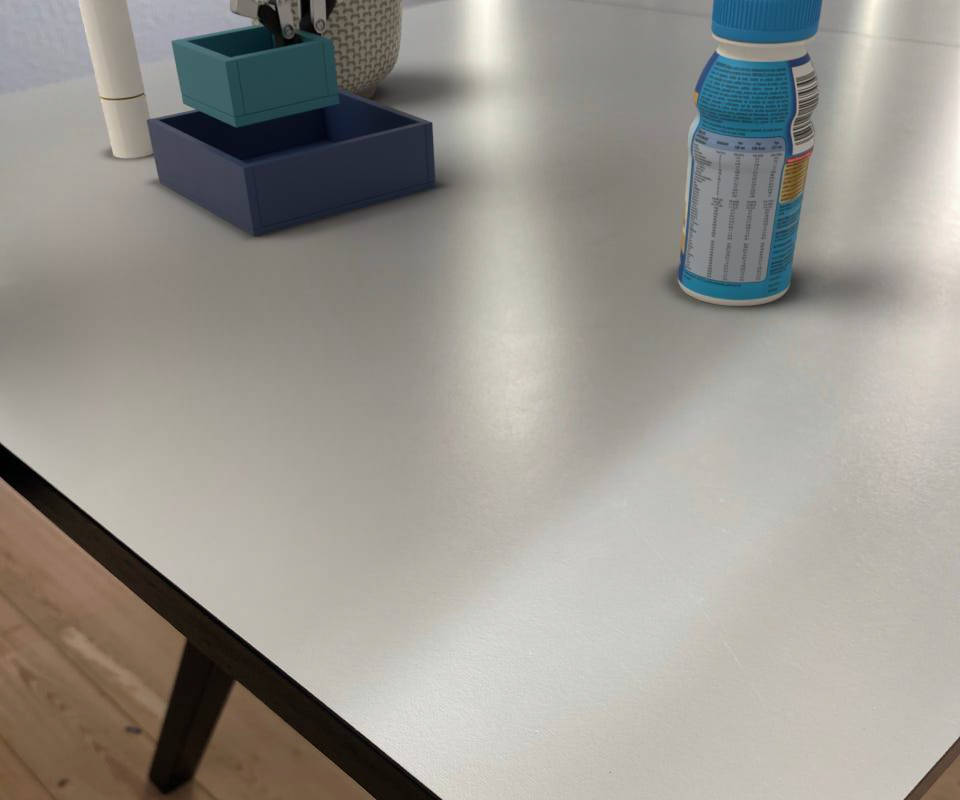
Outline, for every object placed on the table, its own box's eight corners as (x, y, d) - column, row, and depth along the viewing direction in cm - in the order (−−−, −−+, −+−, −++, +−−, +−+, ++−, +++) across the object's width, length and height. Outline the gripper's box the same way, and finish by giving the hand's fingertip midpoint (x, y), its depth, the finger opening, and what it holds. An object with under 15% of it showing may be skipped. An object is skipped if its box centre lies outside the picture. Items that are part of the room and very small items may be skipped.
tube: (148, 161, 111) (112, -12, 101) (107, 160, 111) (67, -12, 101) (163, 147, 114) (129, -21, 104) (123, 147, 114) (85, -21, 105)
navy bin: (254, 240, 93) (243, 168, 89) (159, 185, 105) (146, 119, 101) (436, 190, 102) (432, 122, 98) (329, 144, 113) (322, 82, 109)
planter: (298, 129, 118) (276, -48, 107) (234, 94, 129) (209, -68, 119) (439, 101, 124) (431, -68, 114) (367, 70, 136) (353, -86, 125)
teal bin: (236, 128, 92) (225, 61, 89) (182, 103, 98) (170, 40, 95) (339, 104, 96) (332, 39, 93) (282, 82, 103) (274, 21, 99)
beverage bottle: (696, 316, 79) (729, -4, 66) (660, 271, 86) (684, -29, 73) (809, 304, 80) (863, -14, 67) (765, 261, 87) (807, -37, 74)
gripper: (331, -183, 93) (354, 61, 104) (160, -167, 86) (205, 92, 98) (381, -179, 88) (399, 75, 100) (204, -162, 81) (246, 110, 93)
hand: (303, 82), depth 99 cm, fingers closed on teal bin, 1 cm apart
